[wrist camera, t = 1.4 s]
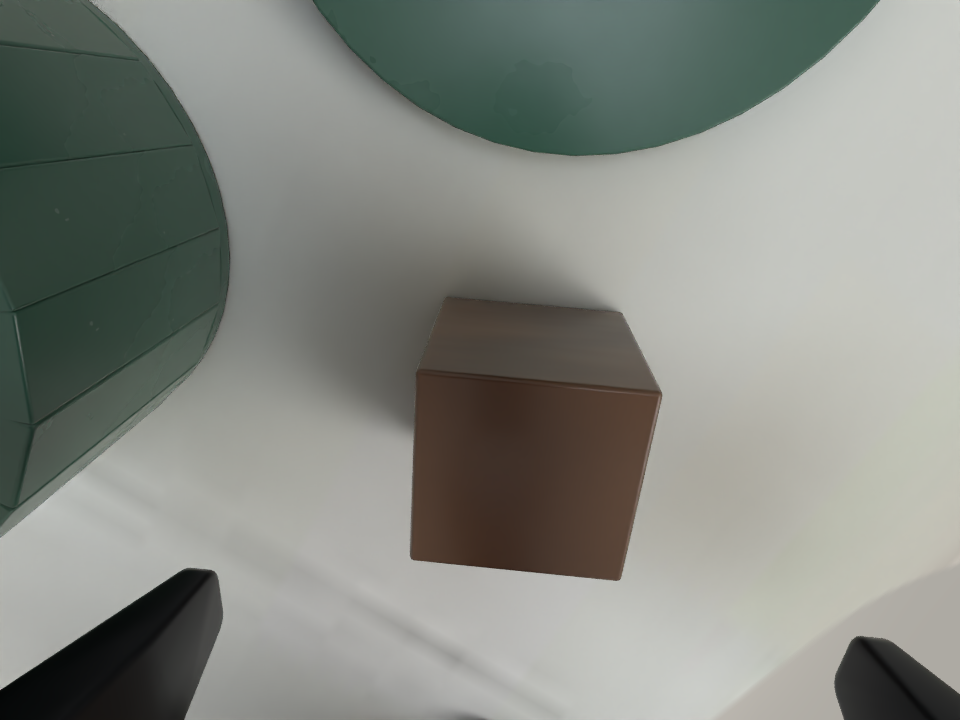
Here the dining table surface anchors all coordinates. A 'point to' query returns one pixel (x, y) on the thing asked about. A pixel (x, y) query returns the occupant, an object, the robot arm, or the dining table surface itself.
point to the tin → (94, 245)
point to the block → (530, 438)
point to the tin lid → (590, 62)
